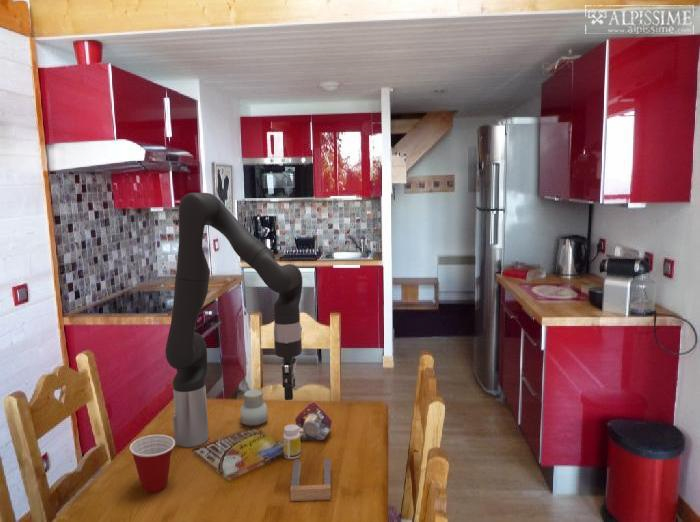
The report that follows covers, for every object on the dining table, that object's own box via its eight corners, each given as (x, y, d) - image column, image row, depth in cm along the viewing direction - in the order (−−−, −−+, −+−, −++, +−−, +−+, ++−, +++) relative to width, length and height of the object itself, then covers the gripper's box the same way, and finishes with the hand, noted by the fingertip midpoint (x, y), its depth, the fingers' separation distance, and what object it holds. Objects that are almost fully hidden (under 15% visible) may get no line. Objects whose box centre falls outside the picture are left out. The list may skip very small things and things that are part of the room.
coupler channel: (290, 501, 121) (290, 490, 121) (294, 470, 134) (294, 460, 134) (330, 499, 121) (330, 488, 121) (330, 468, 135) (330, 458, 134)
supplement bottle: (303, 452, 144) (302, 424, 143) (296, 460, 139) (295, 432, 138) (288, 449, 145) (287, 422, 144) (281, 458, 141) (279, 429, 140)
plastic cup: (172, 497, 123) (169, 452, 122) (127, 501, 122) (123, 455, 120) (182, 473, 134) (179, 431, 132) (140, 476, 133) (137, 434, 131)
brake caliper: (335, 418, 159) (330, 399, 151) (331, 452, 151) (326, 434, 143) (300, 417, 160) (294, 398, 152) (294, 451, 153) (287, 433, 144)
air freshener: (268, 427, 159) (267, 397, 158) (241, 431, 157) (240, 400, 156) (266, 413, 170) (264, 385, 168) (241, 416, 168) (239, 387, 166)
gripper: (276, 330, 144) (279, 384, 147) (271, 345, 130) (273, 404, 133) (302, 329, 145) (304, 383, 147) (299, 344, 131) (302, 403, 133)
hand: (290, 393), depth 140 cm, fingers open, 8 cm apart
